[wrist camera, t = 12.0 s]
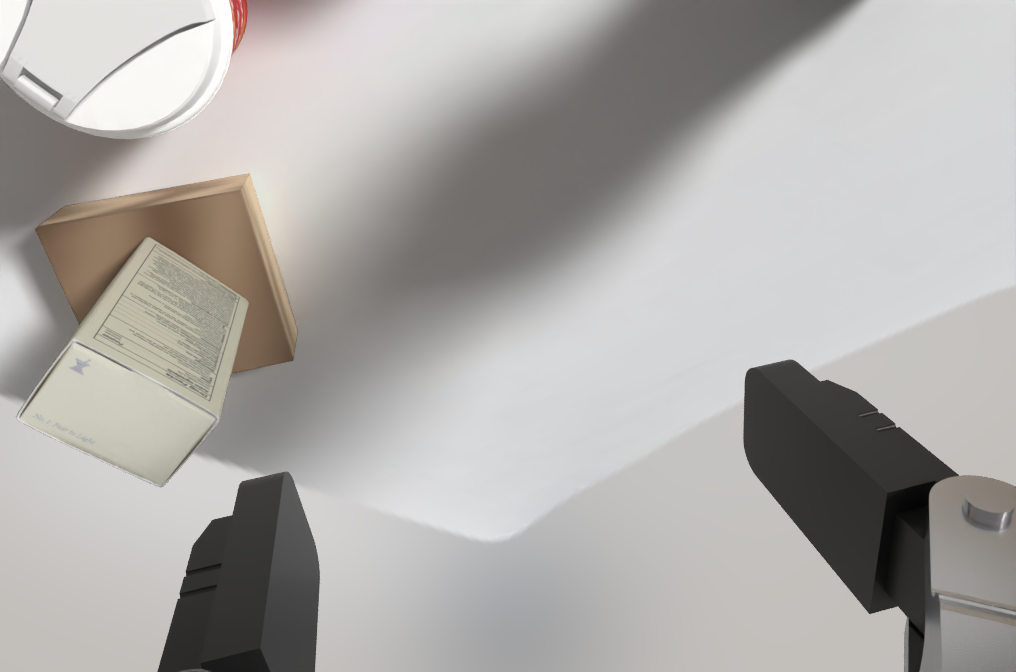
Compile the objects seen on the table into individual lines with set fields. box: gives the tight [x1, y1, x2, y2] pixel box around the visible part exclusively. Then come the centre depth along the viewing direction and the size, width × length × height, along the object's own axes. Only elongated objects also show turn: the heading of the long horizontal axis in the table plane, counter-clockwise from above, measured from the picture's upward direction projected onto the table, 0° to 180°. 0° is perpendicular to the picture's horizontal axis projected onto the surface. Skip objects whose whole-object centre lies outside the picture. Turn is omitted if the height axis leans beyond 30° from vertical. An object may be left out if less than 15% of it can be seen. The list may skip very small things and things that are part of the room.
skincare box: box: [17, 237, 249, 487], centre depth 33 cm, size 6×4×12 cm
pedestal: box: [36, 174, 298, 373], centre depth 40 cm, size 10×10×4 cm
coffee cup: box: [0, 0, 247, 139], centre depth 29 cm, size 8×8×15 cm
